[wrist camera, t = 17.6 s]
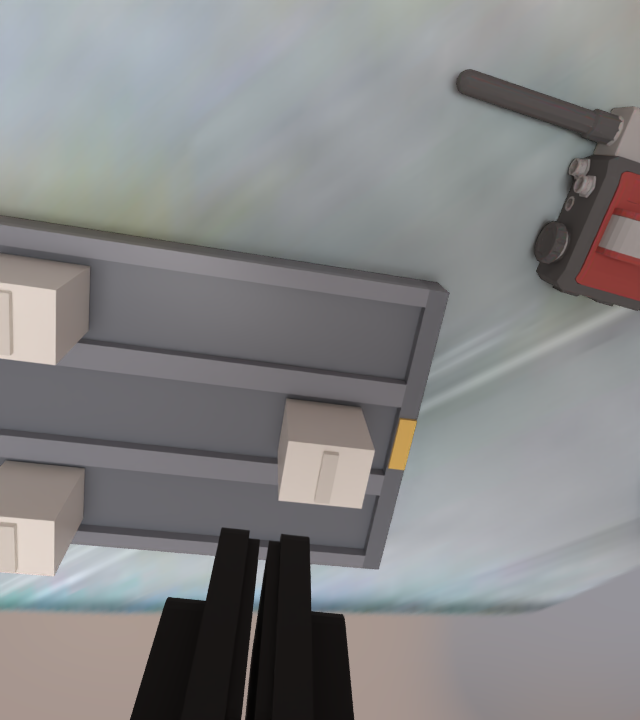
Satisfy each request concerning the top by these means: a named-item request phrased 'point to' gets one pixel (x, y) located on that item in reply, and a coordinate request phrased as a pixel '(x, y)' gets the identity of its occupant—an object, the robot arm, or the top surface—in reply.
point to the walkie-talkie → (585, 195)
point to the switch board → (216, 389)
